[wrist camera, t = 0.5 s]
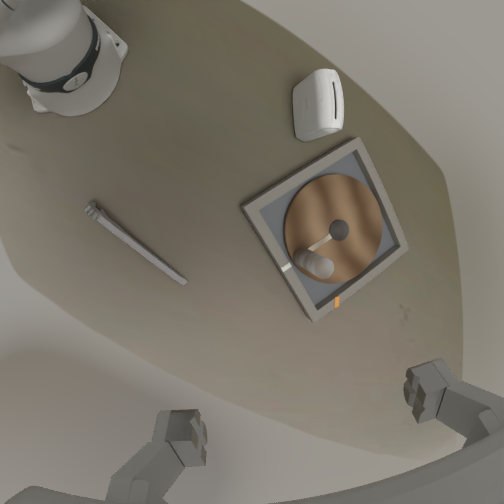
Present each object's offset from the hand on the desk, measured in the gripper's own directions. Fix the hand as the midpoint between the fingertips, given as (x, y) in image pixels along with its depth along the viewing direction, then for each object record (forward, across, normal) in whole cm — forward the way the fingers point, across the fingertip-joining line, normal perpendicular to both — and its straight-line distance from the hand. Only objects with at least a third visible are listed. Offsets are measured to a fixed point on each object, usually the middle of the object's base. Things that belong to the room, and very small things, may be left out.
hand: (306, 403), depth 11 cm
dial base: (+46, -12, +10) cm, 49 cm away
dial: (+45, -13, +10) cm, 48 cm away
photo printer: (+49, -11, -11) cm, 51 cm away
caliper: (+40, +20, +5) cm, 45 cm away
